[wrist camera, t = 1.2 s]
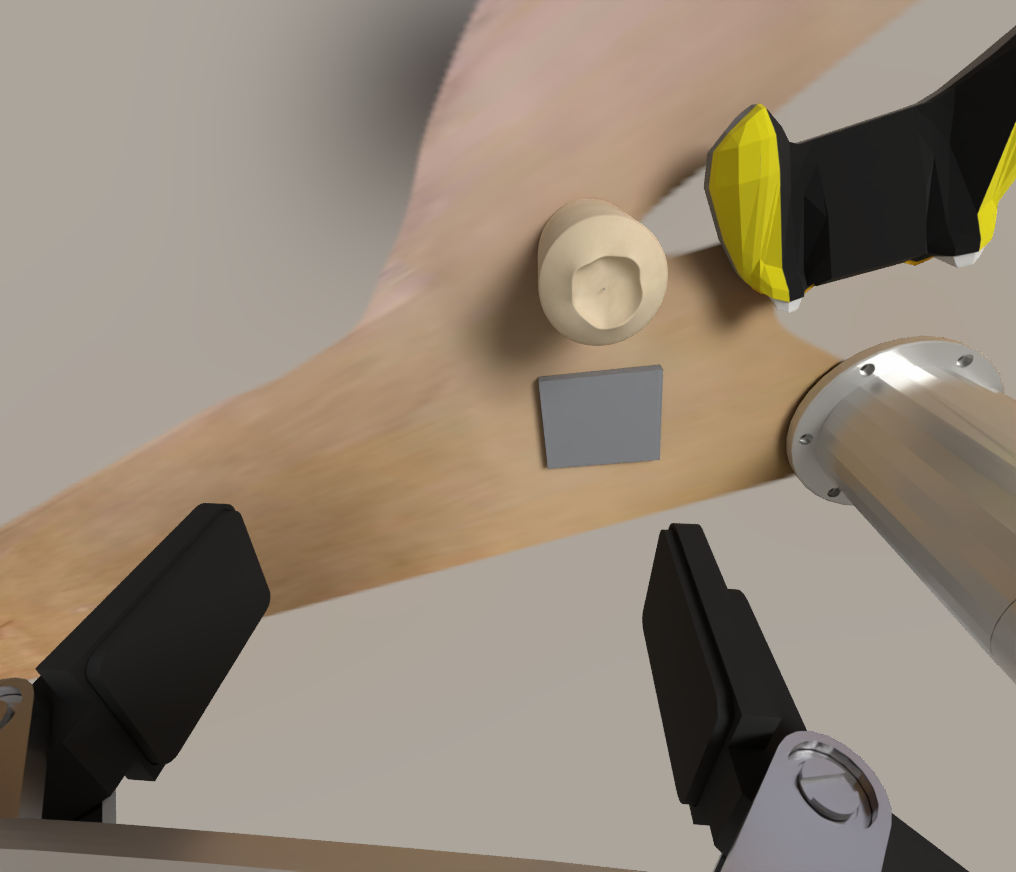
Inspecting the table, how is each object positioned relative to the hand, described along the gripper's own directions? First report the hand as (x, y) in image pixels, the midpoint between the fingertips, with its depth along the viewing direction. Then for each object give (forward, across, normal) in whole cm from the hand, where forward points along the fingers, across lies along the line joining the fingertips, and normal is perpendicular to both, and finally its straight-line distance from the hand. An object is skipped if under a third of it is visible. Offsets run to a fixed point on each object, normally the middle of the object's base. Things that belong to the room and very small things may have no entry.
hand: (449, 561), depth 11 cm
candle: (+22, -4, -3) cm, 23 cm away
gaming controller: (+22, -18, -7) cm, 29 cm away
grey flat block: (+22, -6, +8) cm, 24 cm away
